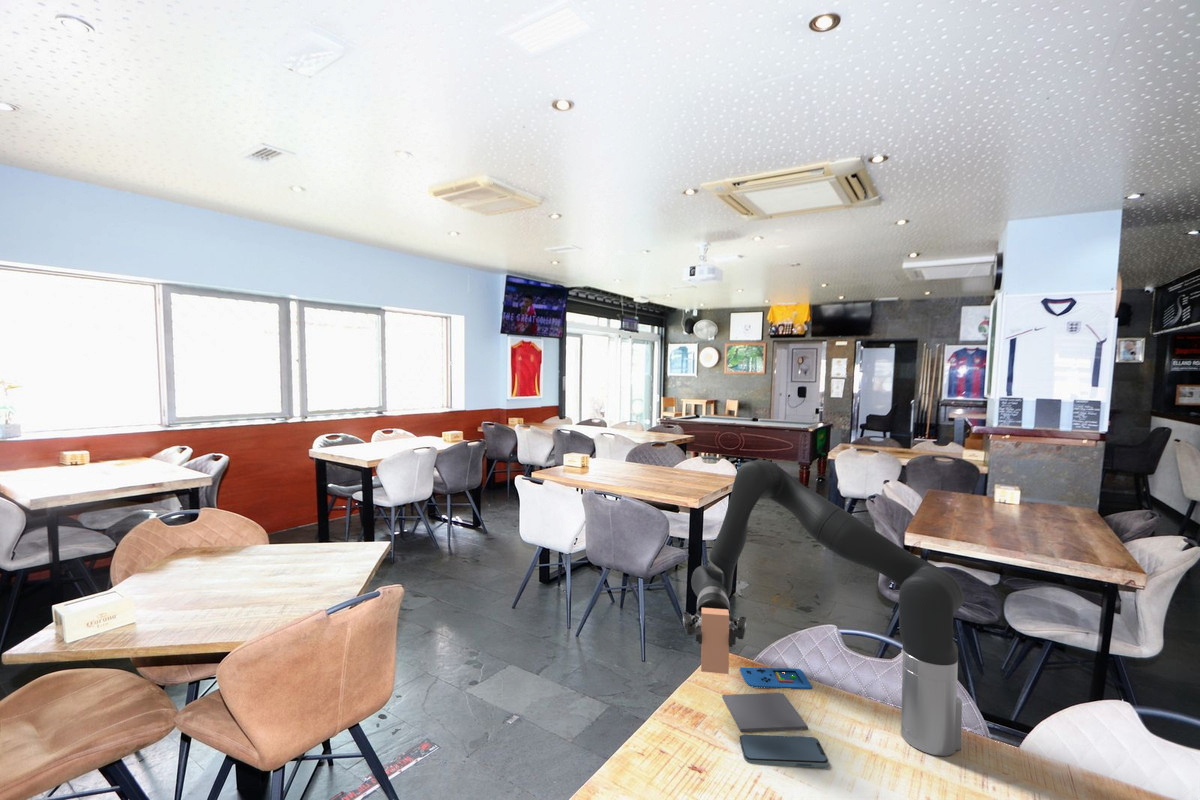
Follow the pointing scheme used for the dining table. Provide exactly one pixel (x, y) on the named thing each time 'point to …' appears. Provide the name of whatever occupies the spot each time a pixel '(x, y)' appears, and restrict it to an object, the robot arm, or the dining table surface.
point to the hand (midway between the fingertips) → (715, 640)
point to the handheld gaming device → (775, 678)
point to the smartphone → (783, 750)
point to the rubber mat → (763, 712)
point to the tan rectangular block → (715, 640)
